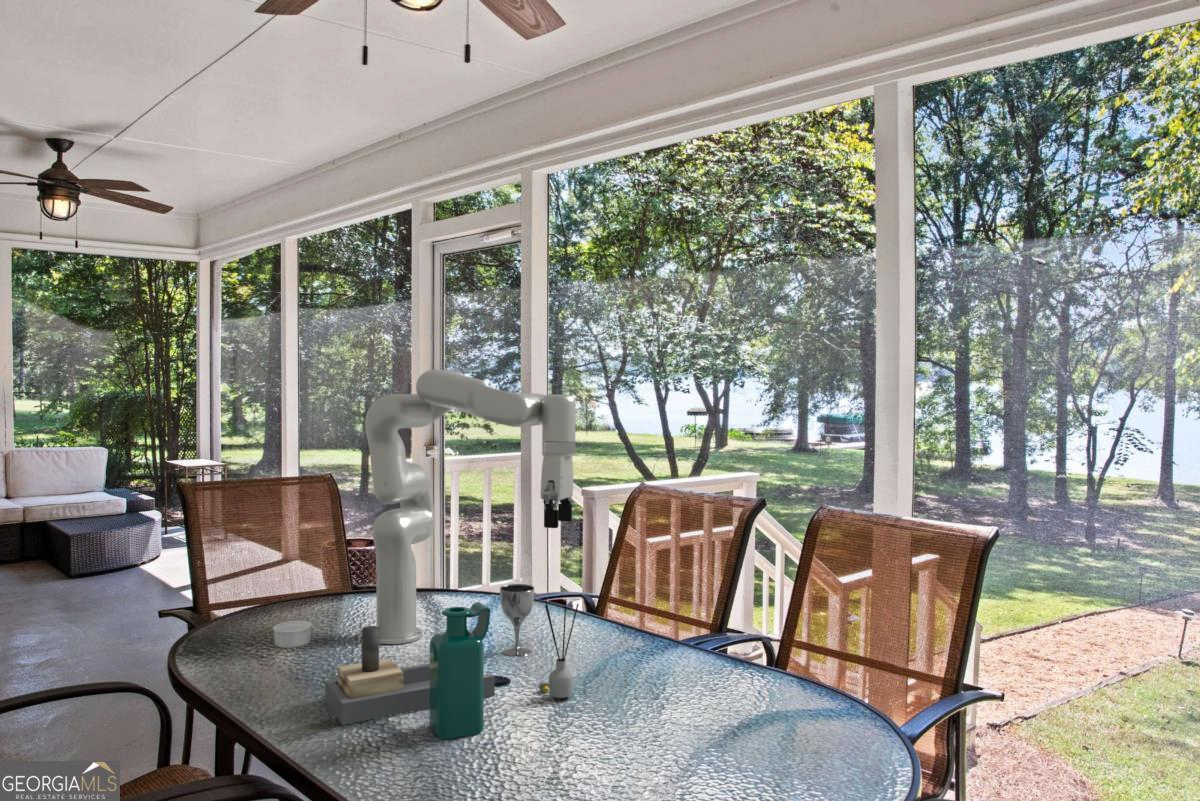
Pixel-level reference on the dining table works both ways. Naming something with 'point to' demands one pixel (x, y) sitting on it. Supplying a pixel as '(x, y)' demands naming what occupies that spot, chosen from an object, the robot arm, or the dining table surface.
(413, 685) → the bay
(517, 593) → the wine glass
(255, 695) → the dining table surface
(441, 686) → the pitcher
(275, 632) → the ramekin
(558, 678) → the reed diffuser
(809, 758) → the dining table surface
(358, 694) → the rubber stamp
